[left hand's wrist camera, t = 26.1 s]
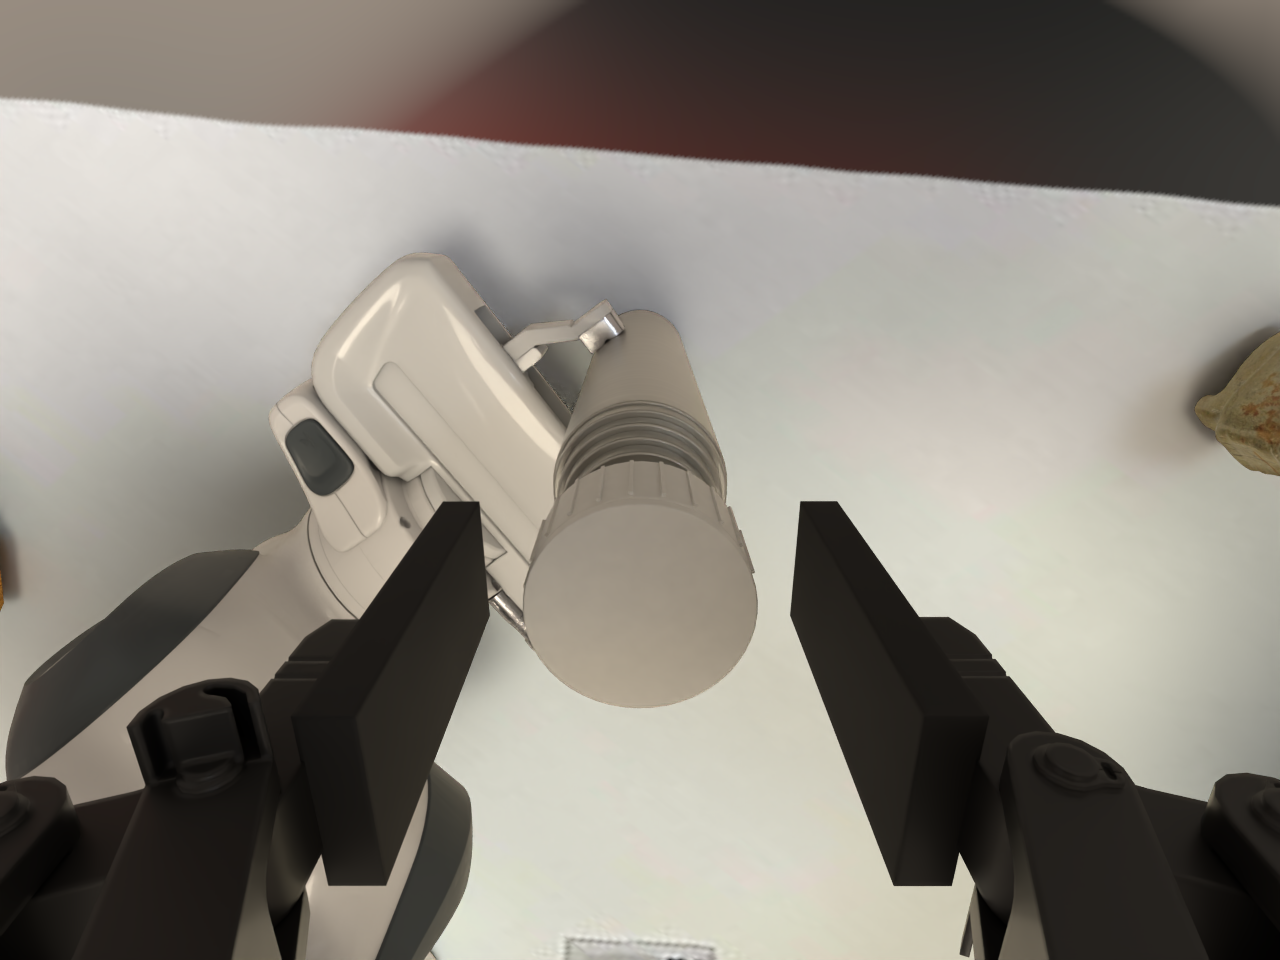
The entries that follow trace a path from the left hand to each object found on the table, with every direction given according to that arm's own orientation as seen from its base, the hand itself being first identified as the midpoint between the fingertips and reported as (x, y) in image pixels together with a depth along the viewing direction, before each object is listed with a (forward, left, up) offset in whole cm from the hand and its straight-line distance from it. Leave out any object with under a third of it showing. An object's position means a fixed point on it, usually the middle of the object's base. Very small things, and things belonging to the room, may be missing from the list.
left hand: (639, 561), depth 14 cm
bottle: (0, 0, -24) cm, 24 cm away
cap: (0, 0, +2) cm, 2 cm away
